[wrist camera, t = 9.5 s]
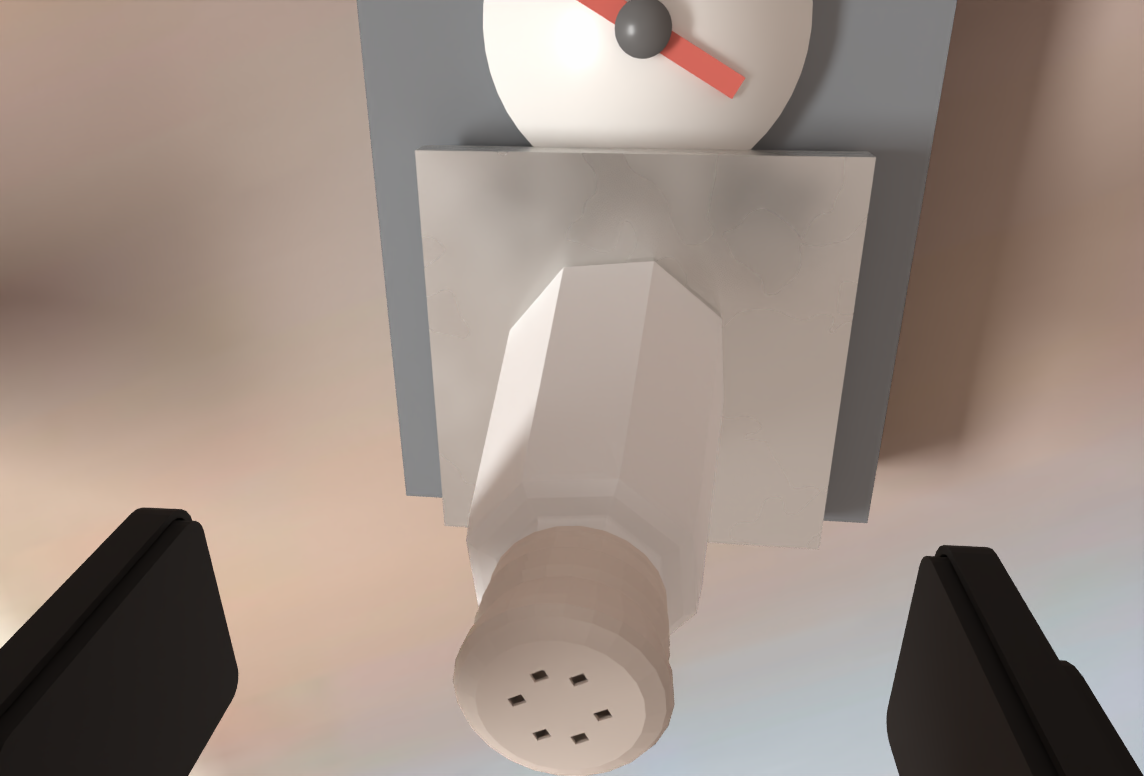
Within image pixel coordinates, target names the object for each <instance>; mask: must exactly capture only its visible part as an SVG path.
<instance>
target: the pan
mask: <svg viewBox="0 0 1144 776" xmlns="http://www.w3.org/2000/svg"><path fill="white" fill-rule="evenodd" d="M415 158H416V171H417V184H418V196H419V209H420V221H421V234H422V246H423V259H424V271H425V284H426V297H427V309H428V322H429V334H430V347H431V359H432V372H433V385H434V397H435V410H436V422H437V435H438V447H439V460H440V473H441V485H442V498H443V510H444V523H445V526H455V527H468V523H469V515H470V509H471V504H472V500H473V495H474V491H475V486H476V482H477V477H478V472H479V468H480V463H481V459H482V454H483V450H484V445H485V441H486V436H487V431H488V427H489V422H490V418H491V413H492V409H493V404H494V400H495V395H496V391H497V386H498V381H499V377H500V372H501V368H502V363H503V359H504V354H505V350H506V345H507V341H508V336H509V332H510V329H511V328H512V327H513V326H514V325H515V324H516V322H517V321H518V320H519V319H520V318H521V317H522V315H523V314H524V313H525V312H526V311H527V310H528V308H529V307H530V306H531V305H532V304H533V303H534V301H535V300H536V299H537V298H538V297H539V295H540V294H541V293H542V292H543V291H544V290H545V288H546V287H547V286H548V285H549V284H550V283H551V281H552V280H553V279H554V278H555V277H556V276H557V274H558V273H559V272H560V271H561V270H562V269H563V267H573V266H588V265H603V264H618V263H633V262H648V261H655V262H656V263H657V264H658V265H659V266H660V267H662V268H663V269H664V270H665V271H666V272H667V273H669V274H670V275H671V276H672V277H673V278H675V279H676V280H677V281H678V282H679V283H680V284H682V285H683V286H684V287H685V288H686V289H688V290H689V291H690V292H691V293H692V294H693V295H695V296H696V297H697V298H698V299H699V300H700V301H702V302H703V303H704V304H705V305H706V306H708V307H709V308H710V309H711V310H712V311H713V312H715V313H716V314H717V315H718V316H719V317H720V318H722V350H723V383H724V404H723V412H722V421H721V430H720V438H719V447H718V455H717V464H716V472H715V481H714V489H713V498H712V507H711V515H710V524H709V532H708V541H707V543H723V544H738V545H754V546H770V547H786V548H801V549H817V550H819V546H820V539H821V533H822V526H823V519H824V512H825V505H826V498H827V491H828V484H829V478H830V471H831V464H832V457H833V450H834V443H835V436H836V429H837V423H838V416H839V409H840V402H841V395H842V388H843V381H844V374H845V368H846V361H847V354H848V347H849V340H850V333H851V326H852V319H853V313H854V306H855V299H856V292H857V285H858V278H859V271H860V264H861V258H862V251H863V244H864V237H865V230H866V223H867V216H868V209H869V203H870V196H871V189H872V182H873V175H874V168H875V161H876V157H875V156H874V155H872V154H871V153H870V152H868V151H808V150H738V149H669V148H600V147H531V146H462V145H424V146H422V147H420V148H418V149H416V150H415Z"/></svg>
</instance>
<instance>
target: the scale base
mask: <svg viewBox="0 0 1144 776" xmlns="http://www.w3.org/2000/svg"><path fill="white" fill-rule="evenodd" d="M956 3H957V0H357V9H358V19H359V29H360V39H361V48H362V58H363V68H364V78H365V88H366V98H367V108H368V118H369V128H370V138H371V148H372V158H373V168H374V178H375V188H376V198H377V208H378V218H379V227H380V237H381V247H382V257H383V267H384V277H385V287H386V297H387V307H388V317H389V327H390V337H391V347H392V357H393V367H394V377H395V387H396V396H397V406H398V416H399V426H400V436H401V446H402V456H403V466H404V476H405V486H406V495H407V496H423V497H440V498H442V485H441V473H440V460H439V447H438V435H437V422H436V410H435V397H434V385H433V372H432V359H431V347H430V334H429V322H428V309H427V297H426V284H425V271H424V259H423V246H422V234H421V221H420V209H419V196H418V184H417V171H416V158H415V150H416V149H418V148H420V147H422V146H424V145H462V146H531V147H600V148H669V149H738V150H808V151H868V152H870V153H871V154H872V155H874V156H875V157H876V161H875V168H874V175H873V182H872V189H871V196H870V203H869V209H868V216H867V223H866V230H865V237H864V244H863V251H862V258H861V264H860V271H859V278H858V285H857V292H856V299H855V306H854V313H853V319H852V326H851V333H850V340H849V347H848V354H847V361H846V368H845V374H844V381H843V388H842V395H841V402H840V409H839V416H838V423H837V429H836V436H835V443H834V450H833V457H832V464H831V471H830V478H829V484H828V491H827V498H826V505H825V512H824V519H823V520H824V521H840V522H857V523H867V521H868V516H869V510H870V504H871V498H872V492H873V487H874V481H875V475H876V469H877V463H878V457H879V452H880V446H881V440H882V434H883V428H884V422H885V417H886V411H887V405H888V399H889V393H890V388H891V382H892V376H893V370H894V364H895V358H896V353H897V347H898V341H899V335H900V329H901V324H902V318H903V312H904V306H905V300H906V294H907V289H908V283H909V277H910V271H911V265H912V260H913V254H914V248H915V242H916V236H917V230H918V225H919V219H920V213H921V207H922V201H923V195H924V190H925V184H926V178H927V172H928V166H929V161H930V155H931V149H932V143H933V137H934V131H935V126H936V120H937V114H938V108H939V102H940V97H941V91H942V85H943V79H944V73H945V67H946V62H947V56H948V50H949V44H950V38H951V33H952V27H953V21H954V15H955V9H956Z"/></svg>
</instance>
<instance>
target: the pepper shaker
mask: <svg viewBox="0 0 1144 776" xmlns="http://www.w3.org/2000/svg"><path fill="white" fill-rule="evenodd" d="M723 404H724V383H723V350H722V318H720V317H719V316H718V315H717V314H716V313H715V312H713V311H712V310H711V309H710V308H709V307H708V306H706V305H705V304H704V303H703V302H702V301H700V300H699V299H698V298H697V297H696V296H695V295H693V294H692V293H691V292H690V291H689V290H688V289H686V288H685V287H684V286H683V285H682V284H680V283H679V282H678V281H677V280H676V279H675V278H673V277H672V276H671V275H670V274H669V273H667V272H666V271H665V270H664V269H663V268H662V267H660V266H659V265H658V264H657V263H656V262H655V261H648V262H633V263H618V264H603V265H588V266H573V267H563V269H562V270H561V271H560V272H559V273H558V274H557V276H556V277H555V278H554V279H553V280H552V281H551V283H550V284H549V285H548V286H547V287H546V288H545V290H544V291H543V292H542V293H541V294H540V295H539V297H538V298H537V299H536V300H535V301H534V303H533V304H532V305H531V306H530V307H529V308H528V310H527V311H526V312H525V313H524V314H523V315H522V317H521V318H520V319H519V320H518V321H517V322H516V324H515V325H514V326H513V327H512V328H511V329H510V332H509V336H508V341H507V345H506V350H505V354H504V359H503V363H502V368H501V372H500V377H499V381H498V386H497V391H496V395H495V400H494V404H493V409H492V413H491V418H490V422H489V427H488V431H487V436H486V441H485V445H484V450H483V454H482V459H481V463H480V468H479V472H478V477H477V482H476V486H475V491H474V495H473V500H472V504H471V509H470V515H469V523H468V531H467V539H466V541H467V547H468V552H469V558H470V563H471V569H472V574H473V580H474V585H475V591H476V596H477V602H478V607H479V609H478V612H477V614H476V616H475V623H474V625H473V626H472V628H471V629H470V631H469V633H468V635H467V636H466V638H465V640H464V642H463V644H462V646H461V648H460V650H459V653H458V655H457V657H456V661H455V669H454V676H453V684H454V688H455V693H456V698H457V703H458V704H459V706H460V708H461V710H462V712H463V714H464V715H465V717H466V719H467V721H468V723H469V724H470V726H471V727H472V729H473V730H474V731H475V732H476V733H477V734H478V735H479V736H480V737H481V738H482V739H483V740H484V741H485V743H486V744H487V745H488V746H489V747H491V748H492V749H494V750H495V751H497V752H498V753H500V754H501V755H503V756H504V757H506V758H507V759H509V760H511V761H513V762H515V763H518V764H520V765H523V766H525V767H527V768H530V769H532V770H536V771H541V772H545V773H550V774H555V775H567V776H587V775H592V774H598V773H604V772H609V771H612V770H614V769H616V768H619V767H621V766H624V765H626V764H628V763H631V762H632V761H634V760H635V759H636V758H638V757H639V756H640V755H642V754H643V753H644V752H646V751H647V750H648V749H650V748H651V747H652V746H653V745H655V744H656V742H657V741H658V740H659V738H660V737H661V735H662V734H663V733H664V731H665V730H666V728H667V727H668V725H669V722H670V718H671V715H672V711H673V708H674V691H673V677H672V669H671V666H670V664H669V657H670V650H669V646H670V641H669V636H670V635H671V634H672V633H673V632H674V631H676V630H677V629H678V628H679V627H680V626H682V625H683V624H684V623H685V622H686V621H688V620H689V619H690V618H691V617H692V616H694V615H695V614H696V613H697V608H698V603H699V598H700V593H701V589H702V583H703V575H704V566H705V558H706V549H707V541H708V532H709V524H710V515H711V507H712V498H713V489H714V481H715V472H716V464H717V455H718V447H719V438H720V430H721V421H722V412H723Z"/></svg>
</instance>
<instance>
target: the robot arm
mask: <svg viewBox="0 0 1144 776" xmlns="http://www.w3.org/2000/svg"><path fill="white" fill-rule="evenodd" d="M237 684H238V668H237V664H236V660H235V655H234V651H233V647H232V643H231V639H230V635H229V631H228V627H227V623H226V619H225V615H224V611H223V607H222V603H221V599H220V595H219V591H218V587H217V583H216V579H215V575H214V571H213V566H212V562H211V558H210V554H209V550H208V546H207V542H206V538H205V534H204V530H203V528H202V525H201V524H200V523H199V522H197V521H192V519H191V516H190V515H189V514H188V513H187V511H184V510H182V509H163V508H139V509H137V510H135V511H134V512H133V513H131V514H130V515H129V516H128V517H127V518H126V520H125V521H124V522H123V523H122V524H121V525H120V526H119V527H118V528H117V529H116V530H115V531H114V532H113V533H112V534H111V535H110V536H109V537H108V538H107V539H106V540H105V541H104V542H103V543H102V544H101V545H100V546H99V547H98V548H97V549H96V551H95V552H94V553H93V554H92V555H91V556H90V557H89V558H88V559H87V560H86V561H85V562H84V563H83V564H82V565H81V566H80V567H79V568H78V569H77V570H76V571H75V572H74V573H73V574H72V575H71V576H70V577H69V578H68V579H67V580H66V581H65V583H64V584H63V585H62V586H61V587H60V588H59V589H58V590H57V591H56V592H55V593H54V594H53V595H52V596H51V597H50V598H49V599H48V600H47V601H46V602H45V603H44V604H43V605H42V606H41V607H40V608H39V609H38V610H37V611H36V612H35V614H34V615H33V616H32V617H31V618H30V619H29V620H28V621H27V622H26V623H25V624H24V625H23V626H22V627H21V628H20V629H19V630H18V631H17V632H16V633H15V634H14V635H13V636H12V637H11V638H10V639H9V640H8V641H7V642H6V643H5V645H4V646H3V647H2V648H1V649H0V776H188V775H189V773H190V772H191V770H192V768H193V766H194V765H195V763H196V761H197V760H198V758H199V756H200V754H201V753H202V751H203V749H204V748H205V746H206V744H207V742H208V741H209V739H210V737H211V735H212V734H213V732H214V730H215V729H216V727H217V725H218V723H219V722H220V720H221V718H222V717H223V715H224V713H225V711H226V710H227V708H228V706H229V704H230V703H231V701H232V699H233V697H234V695H235V692H236V689H237ZM887 733H888V739H889V743H890V746H891V750H892V753H893V756H894V759H895V763H896V766H897V769H898V772H899V776H1143V774H1142V773H1141V771H1140V769H1139V768H1138V766H1137V764H1136V763H1135V761H1134V759H1133V758H1132V756H1131V755H1130V753H1129V751H1128V750H1127V748H1126V746H1125V745H1124V743H1123V741H1122V740H1121V738H1120V737H1119V735H1118V733H1117V732H1116V730H1115V728H1114V727H1113V725H1112V723H1111V722H1110V720H1109V719H1108V717H1107V715H1106V714H1105V712H1104V710H1103V709H1102V707H1101V705H1100V704H1099V702H1098V701H1097V699H1096V697H1095V696H1094V694H1093V692H1092V691H1091V689H1090V688H1089V686H1088V684H1087V683H1086V681H1085V679H1084V678H1083V676H1082V675H1081V674H1080V672H1079V671H1078V670H1077V669H1076V667H1075V666H1074V665H1072V664H1070V663H1069V662H1067V661H1063V660H1059V659H1058V657H1057V656H1056V654H1055V652H1054V650H1053V649H1052V647H1051V645H1050V644H1049V642H1048V640H1047V639H1046V637H1045V635H1044V634H1043V632H1042V630H1041V629H1040V627H1039V625H1038V623H1037V622H1036V620H1035V618H1034V617H1033V615H1032V613H1031V612H1030V610H1029V608H1028V607H1027V605H1026V603H1025V601H1024V600H1023V598H1022V596H1021V595H1020V593H1019V591H1018V590H1017V588H1016V586H1015V585H1014V583H1013V581H1012V579H1011V578H1010V576H1009V574H1008V573H1007V571H1006V569H1005V568H1004V566H1003V564H1002V563H1001V561H1000V559H999V557H998V556H997V554H996V553H995V552H994V551H993V549H991V548H988V547H972V546H951V545H943V546H940V547H939V548H938V550H937V551H936V554H935V556H925V557H923V559H922V560H921V563H920V566H919V571H918V575H917V580H916V584H915V589H914V593H913V597H912V602H911V606H910V611H909V615H908V620H907V624H906V629H905V633H904V638H903V642H902V647H901V651H900V656H899V660H898V665H897V669H896V673H895V678H894V682H893V687H892V691H891V696H890V700H889V705H888V710H887Z"/></svg>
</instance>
